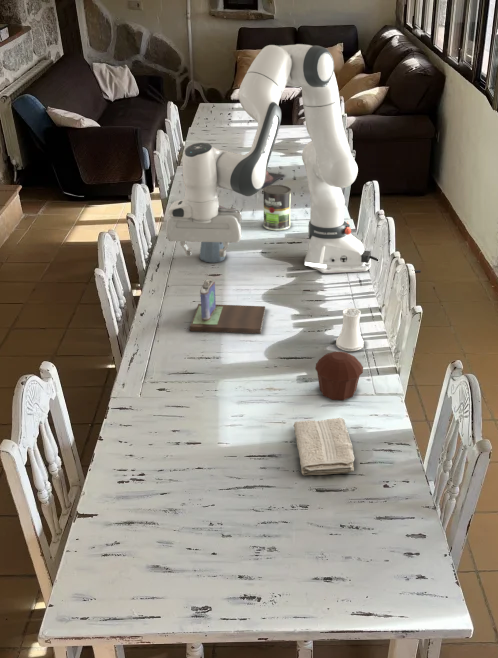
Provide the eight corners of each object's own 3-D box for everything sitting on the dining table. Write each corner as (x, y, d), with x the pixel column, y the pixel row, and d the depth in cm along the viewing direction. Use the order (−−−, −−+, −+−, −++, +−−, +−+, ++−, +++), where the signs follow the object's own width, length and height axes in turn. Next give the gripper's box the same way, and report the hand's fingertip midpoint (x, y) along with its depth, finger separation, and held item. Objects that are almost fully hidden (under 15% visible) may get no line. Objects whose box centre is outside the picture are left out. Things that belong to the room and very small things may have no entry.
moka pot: (229, 265, 243) (226, 208, 232) (185, 261, 245) (180, 204, 235) (236, 254, 251) (234, 198, 240) (194, 250, 253) (190, 194, 243)
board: (265, 310, 216) (265, 305, 215) (260, 333, 204) (260, 328, 203) (198, 308, 217) (198, 303, 216) (190, 331, 205) (189, 326, 204)
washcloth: (301, 478, 152) (301, 467, 151) (291, 427, 167) (291, 416, 166) (357, 474, 154) (358, 463, 152) (342, 424, 169) (343, 413, 167)
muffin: (308, 397, 178) (309, 362, 172) (322, 374, 187) (323, 340, 181) (354, 407, 175) (357, 372, 169) (367, 383, 183) (369, 349, 178)
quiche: (221, 181, 318) (221, 172, 316) (243, 169, 333) (243, 160, 331) (264, 188, 311) (264, 179, 308) (284, 175, 326) (284, 166, 324)
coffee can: (284, 232, 269) (284, 195, 261) (259, 228, 272) (258, 191, 264) (294, 223, 277) (295, 186, 269) (270, 219, 280) (269, 183, 272)
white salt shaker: (348, 334, 204) (350, 303, 199) (369, 344, 200) (371, 312, 194) (330, 344, 200) (331, 311, 194) (350, 354, 195) (352, 321, 190)
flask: (209, 321, 207) (206, 287, 201) (199, 320, 207) (196, 286, 201) (217, 307, 214) (215, 273, 208) (207, 306, 215) (205, 272, 209)
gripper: (242, 204, 195) (244, 252, 203) (167, 202, 196) (171, 250, 204) (239, 212, 190) (241, 261, 197) (162, 210, 191) (167, 259, 198)
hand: (205, 255), depth 201 cm, fingers open, 8 cm apart
